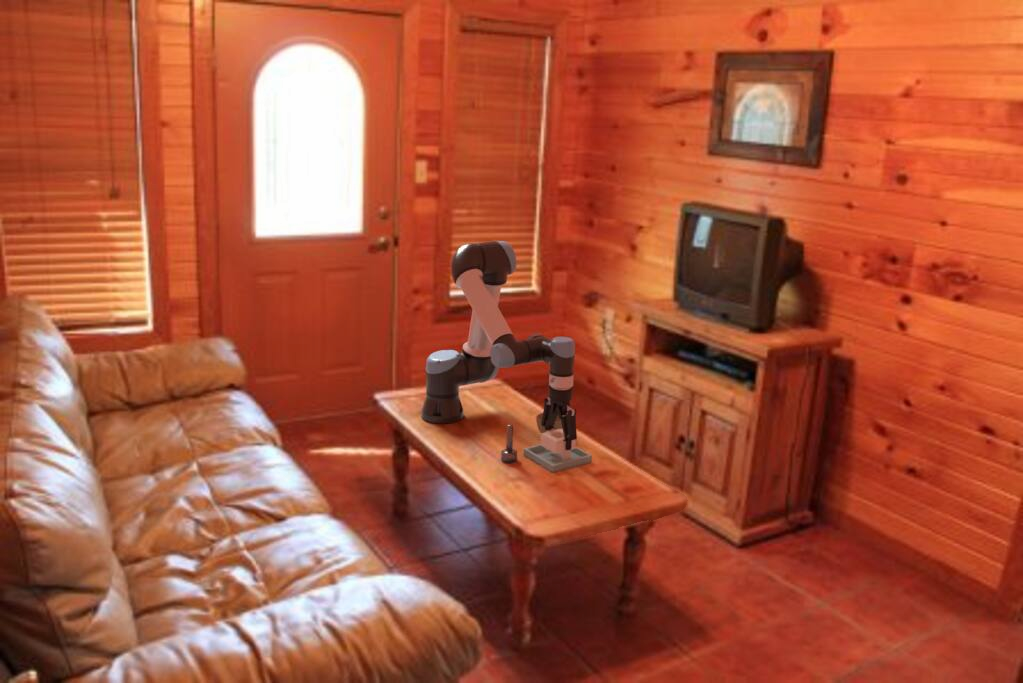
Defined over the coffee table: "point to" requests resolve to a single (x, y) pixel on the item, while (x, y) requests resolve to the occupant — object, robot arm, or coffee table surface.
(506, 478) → the coffee table surface
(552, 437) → the ring
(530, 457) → the tray
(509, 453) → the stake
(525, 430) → the coffee table surface
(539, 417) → the flower pot
